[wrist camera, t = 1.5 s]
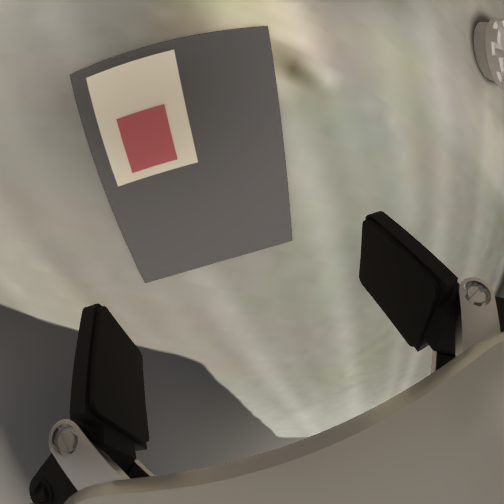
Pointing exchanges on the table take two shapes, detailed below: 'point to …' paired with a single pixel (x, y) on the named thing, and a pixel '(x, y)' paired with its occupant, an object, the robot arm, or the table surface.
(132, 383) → the robot arm
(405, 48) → the table surface
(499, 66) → the flag stand
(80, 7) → the table surface
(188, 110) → the mat
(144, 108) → the card box
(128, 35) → the table surface
